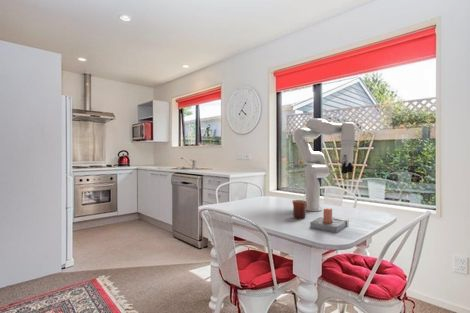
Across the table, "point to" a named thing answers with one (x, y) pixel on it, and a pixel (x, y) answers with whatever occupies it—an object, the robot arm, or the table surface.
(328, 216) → the pin
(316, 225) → the square hole plate
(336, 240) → the table surface
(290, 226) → the table surface
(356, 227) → the table surface
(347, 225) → the tilted grey slab block
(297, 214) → the mug
